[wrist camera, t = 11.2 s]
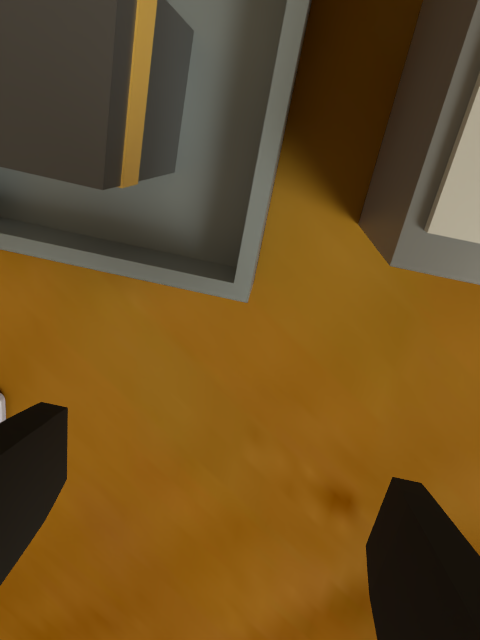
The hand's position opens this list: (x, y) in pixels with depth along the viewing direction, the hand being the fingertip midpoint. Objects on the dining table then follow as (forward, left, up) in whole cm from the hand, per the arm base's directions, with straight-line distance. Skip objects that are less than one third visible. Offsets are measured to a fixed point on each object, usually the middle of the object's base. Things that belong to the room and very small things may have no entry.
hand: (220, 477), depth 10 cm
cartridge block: (-6, +7, -9) cm, 13 cm away
